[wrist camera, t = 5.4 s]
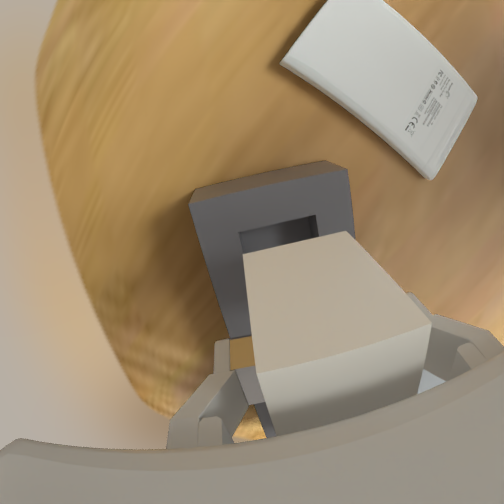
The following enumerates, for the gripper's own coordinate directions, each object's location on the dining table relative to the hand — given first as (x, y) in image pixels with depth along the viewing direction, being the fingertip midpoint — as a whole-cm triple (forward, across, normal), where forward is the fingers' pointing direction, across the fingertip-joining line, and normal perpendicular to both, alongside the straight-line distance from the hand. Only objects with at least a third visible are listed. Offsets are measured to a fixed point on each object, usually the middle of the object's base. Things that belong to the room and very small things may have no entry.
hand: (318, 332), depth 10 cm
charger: (+4, 0, 0) cm, 4 cm away
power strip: (+10, 0, +7) cm, 12 cm away
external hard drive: (+11, -10, -9) cm, 17 cm away
